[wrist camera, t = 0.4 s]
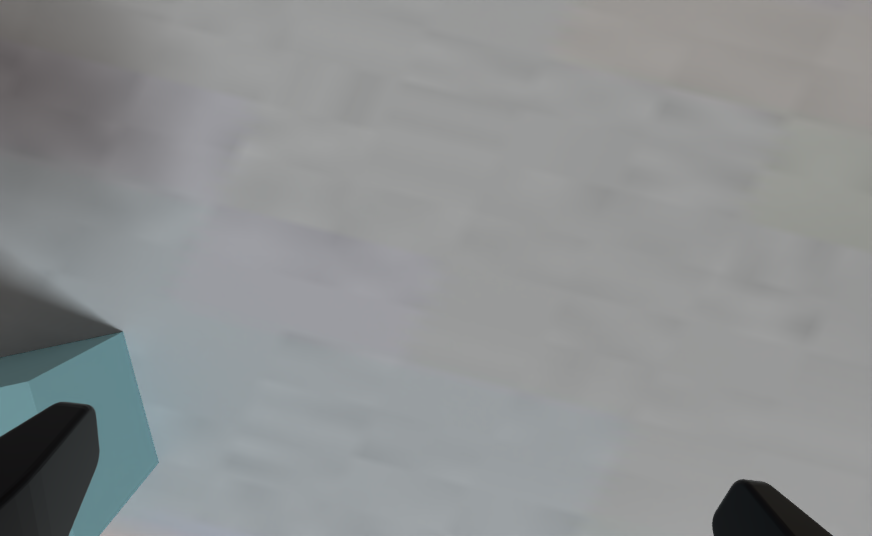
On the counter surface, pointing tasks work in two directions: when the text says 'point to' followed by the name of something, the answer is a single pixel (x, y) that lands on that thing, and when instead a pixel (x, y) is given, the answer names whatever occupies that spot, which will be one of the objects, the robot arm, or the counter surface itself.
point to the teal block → (114, 405)
